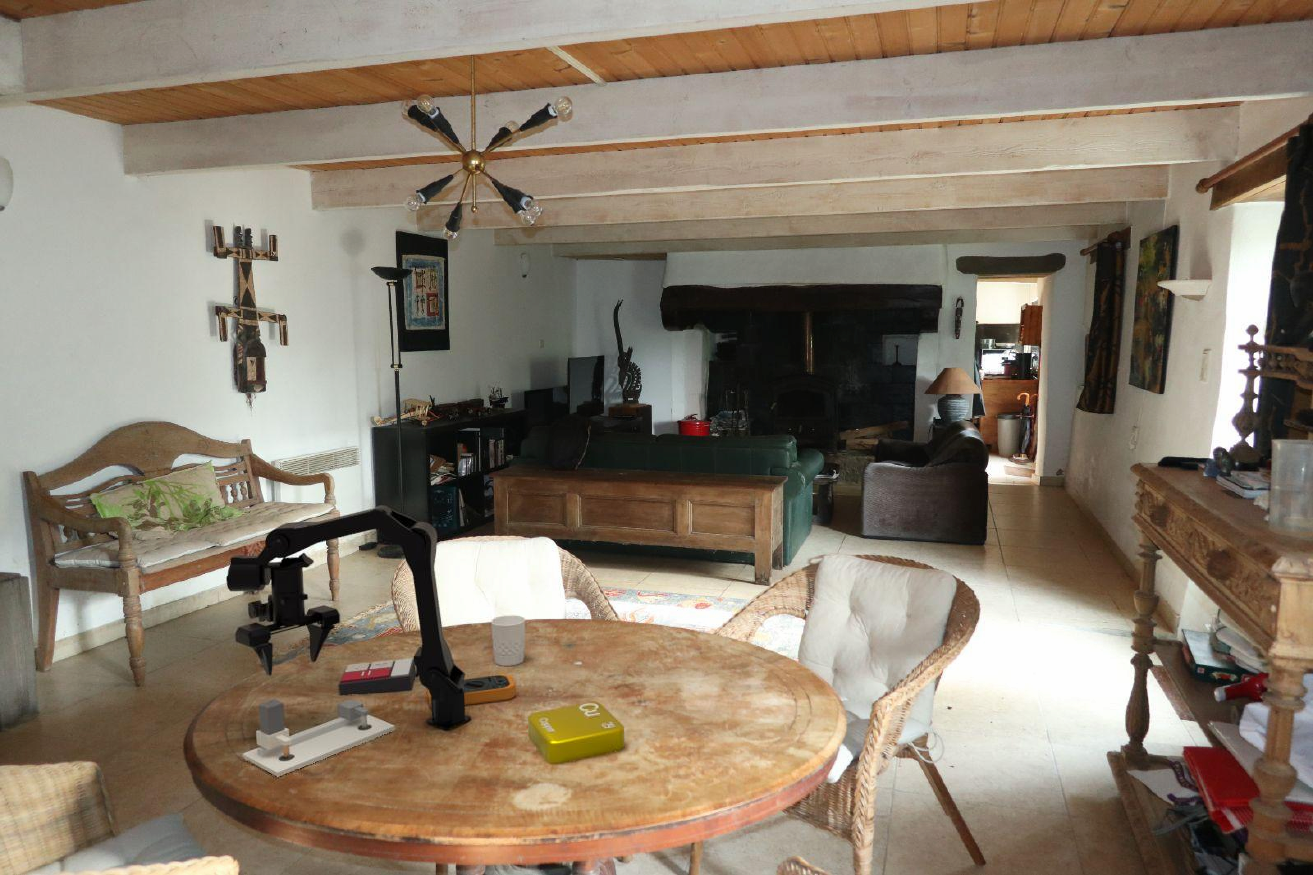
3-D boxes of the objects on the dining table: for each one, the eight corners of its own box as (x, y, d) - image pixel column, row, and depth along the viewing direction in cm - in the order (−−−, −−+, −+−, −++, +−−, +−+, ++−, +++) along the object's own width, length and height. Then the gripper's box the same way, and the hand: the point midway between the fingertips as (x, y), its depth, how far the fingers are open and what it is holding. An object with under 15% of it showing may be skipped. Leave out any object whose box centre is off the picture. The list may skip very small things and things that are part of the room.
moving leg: (299, 752, 160) (297, 707, 159) (278, 760, 157) (276, 714, 156) (278, 742, 164) (275, 697, 164) (257, 749, 161) (254, 704, 160)
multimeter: (518, 700, 187) (517, 685, 187) (430, 713, 182) (429, 696, 181) (510, 686, 196) (510, 671, 195) (426, 697, 190) (425, 682, 189)
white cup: (488, 658, 212) (487, 617, 211) (520, 653, 216) (519, 613, 215) (497, 669, 205) (496, 627, 204) (530, 664, 209) (529, 622, 208)
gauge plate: (395, 730, 172) (394, 707, 172) (277, 778, 153) (276, 752, 153) (358, 715, 180) (357, 693, 179) (242, 759, 161) (241, 734, 160)
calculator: (346, 663, 201) (414, 655, 203) (347, 681, 201) (416, 673, 204) (337, 680, 190) (410, 672, 192) (339, 700, 190) (411, 691, 193)
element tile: (525, 735, 171) (525, 711, 170) (598, 720, 177) (598, 697, 177) (550, 767, 157) (549, 741, 157) (628, 751, 164) (627, 726, 163)
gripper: (309, 573, 184) (312, 647, 185) (218, 593, 169) (223, 673, 170) (340, 581, 177) (343, 658, 178) (248, 603, 162) (253, 686, 164)
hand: (291, 668), depth 173 cm, fingers open, 9 cm apart
